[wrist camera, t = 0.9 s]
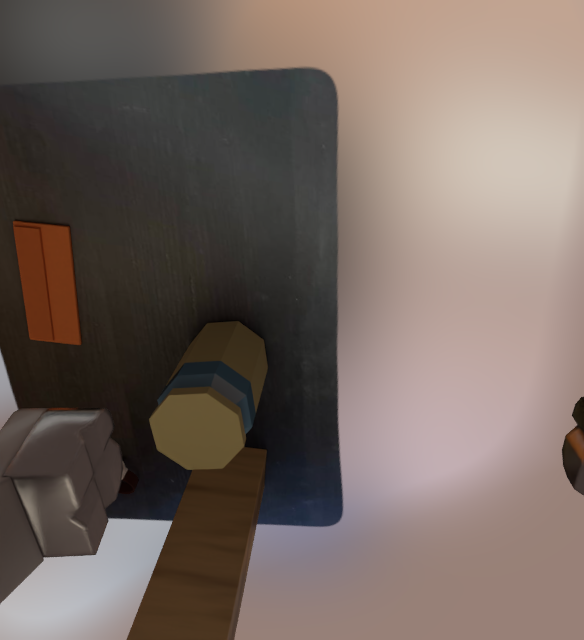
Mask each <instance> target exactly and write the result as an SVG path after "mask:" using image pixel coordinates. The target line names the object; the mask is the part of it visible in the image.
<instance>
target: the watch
mask: <svg viewBox="0 0 584 640" xmlns="http://www.w3.org/2000/svg"><path fill="white" fill-rule="evenodd" d="M122 480H123V481H125V482H127V483H124V482H121V486H120V489H119V492H118V493H122V494H130V493H133V492H134V490H135V488H136V485H137V483H138V477H137V476H136V475H135V474H134V473H133V472H131V471H129V470H128V468H125V465H124V462H123V473H122Z"/></svg>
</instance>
